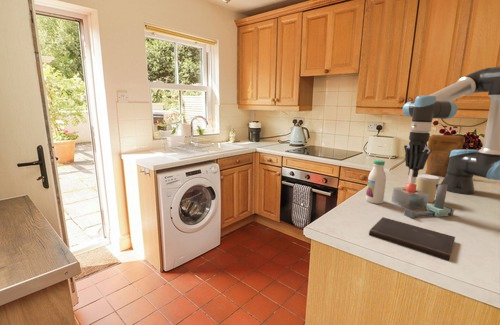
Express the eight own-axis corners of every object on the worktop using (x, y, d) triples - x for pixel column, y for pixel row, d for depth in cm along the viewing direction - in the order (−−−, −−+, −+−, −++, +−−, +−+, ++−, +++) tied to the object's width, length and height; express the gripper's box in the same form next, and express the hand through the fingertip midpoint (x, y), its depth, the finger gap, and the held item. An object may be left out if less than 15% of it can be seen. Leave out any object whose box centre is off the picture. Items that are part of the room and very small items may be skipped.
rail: (444, 211, 116) (445, 205, 115) (452, 215, 112) (454, 208, 111) (404, 214, 111) (405, 208, 111) (411, 218, 108) (412, 212, 107)
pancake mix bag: (456, 179, 171) (465, 136, 165) (422, 174, 183) (428, 133, 177) (457, 177, 176) (465, 135, 170) (423, 172, 188) (430, 133, 182)
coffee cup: (439, 203, 126) (443, 179, 123) (417, 202, 128) (421, 178, 125) (430, 197, 135) (434, 174, 132) (410, 195, 137) (413, 173, 134)
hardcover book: (382, 222, 105) (382, 217, 104) (453, 243, 90) (455, 236, 90) (368, 236, 93) (369, 230, 93) (448, 262, 78) (450, 255, 78)
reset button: (409, 195, 125) (411, 182, 124) (416, 197, 121) (418, 185, 120) (402, 195, 124) (404, 183, 123) (409, 198, 120) (411, 185, 119)
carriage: (436, 211, 116) (442, 182, 113) (449, 216, 110) (455, 186, 108) (425, 211, 115) (430, 182, 112) (437, 217, 109) (443, 187, 106)
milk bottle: (381, 199, 130) (387, 159, 125) (384, 205, 122) (389, 162, 118) (364, 197, 132) (369, 158, 128) (366, 202, 125) (371, 161, 121)
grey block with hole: (408, 200, 129) (411, 186, 128) (426, 208, 120) (428, 193, 118) (391, 201, 127) (393, 187, 126) (407, 209, 118) (410, 194, 116)
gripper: (401, 130, 122) (394, 179, 127) (425, 133, 109) (416, 187, 114) (415, 130, 123) (407, 179, 128) (440, 133, 111) (430, 187, 116)
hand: (411, 183), depth 121 cm, fingers closed
